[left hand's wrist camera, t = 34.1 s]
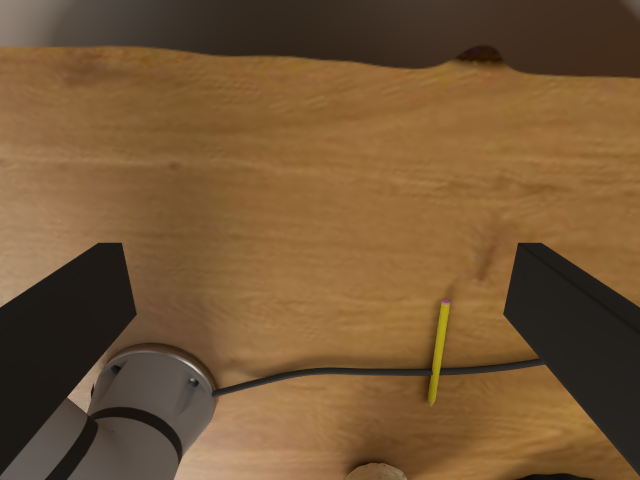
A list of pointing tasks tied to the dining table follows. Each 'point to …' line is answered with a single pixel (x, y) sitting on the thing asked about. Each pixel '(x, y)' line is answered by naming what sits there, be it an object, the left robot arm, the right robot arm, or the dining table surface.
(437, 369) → the pencil
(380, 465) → the bowl
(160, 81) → the dining table surface
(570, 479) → the sign
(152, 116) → the dining table surface
